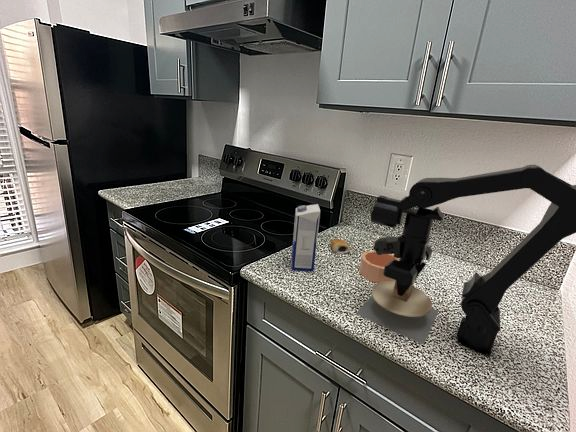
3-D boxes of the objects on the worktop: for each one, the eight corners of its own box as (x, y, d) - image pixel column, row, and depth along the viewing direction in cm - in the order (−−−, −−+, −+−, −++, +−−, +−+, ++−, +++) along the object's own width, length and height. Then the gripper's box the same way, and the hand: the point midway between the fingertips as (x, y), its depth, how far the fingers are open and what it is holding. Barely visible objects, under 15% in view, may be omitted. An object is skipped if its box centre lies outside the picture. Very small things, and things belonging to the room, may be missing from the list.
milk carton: (313, 272, 95) (320, 210, 89) (291, 270, 95) (297, 208, 88) (311, 261, 102) (318, 203, 95) (291, 260, 102) (296, 201, 95)
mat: (438, 312, 80) (438, 310, 80) (422, 346, 68) (423, 344, 67) (378, 289, 89) (379, 287, 88) (355, 315, 76) (355, 313, 76)
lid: (436, 298, 78) (442, 278, 77) (423, 325, 68) (429, 302, 66) (383, 278, 86) (387, 259, 84) (363, 299, 75) (366, 278, 73)
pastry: (327, 243, 118) (328, 234, 116) (344, 243, 119) (345, 234, 117) (333, 254, 109) (334, 244, 108) (351, 254, 110) (353, 245, 108)
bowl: (404, 275, 98) (407, 259, 96) (391, 290, 89) (395, 273, 87) (368, 262, 104) (370, 247, 103) (353, 275, 95) (355, 259, 93)
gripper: (394, 215, 83) (383, 267, 88) (367, 234, 68) (356, 295, 73) (438, 226, 77) (424, 281, 82) (419, 249, 62) (403, 315, 67)
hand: (402, 291), depth 76 cm, fingers closed on lid, 3 cm apart
